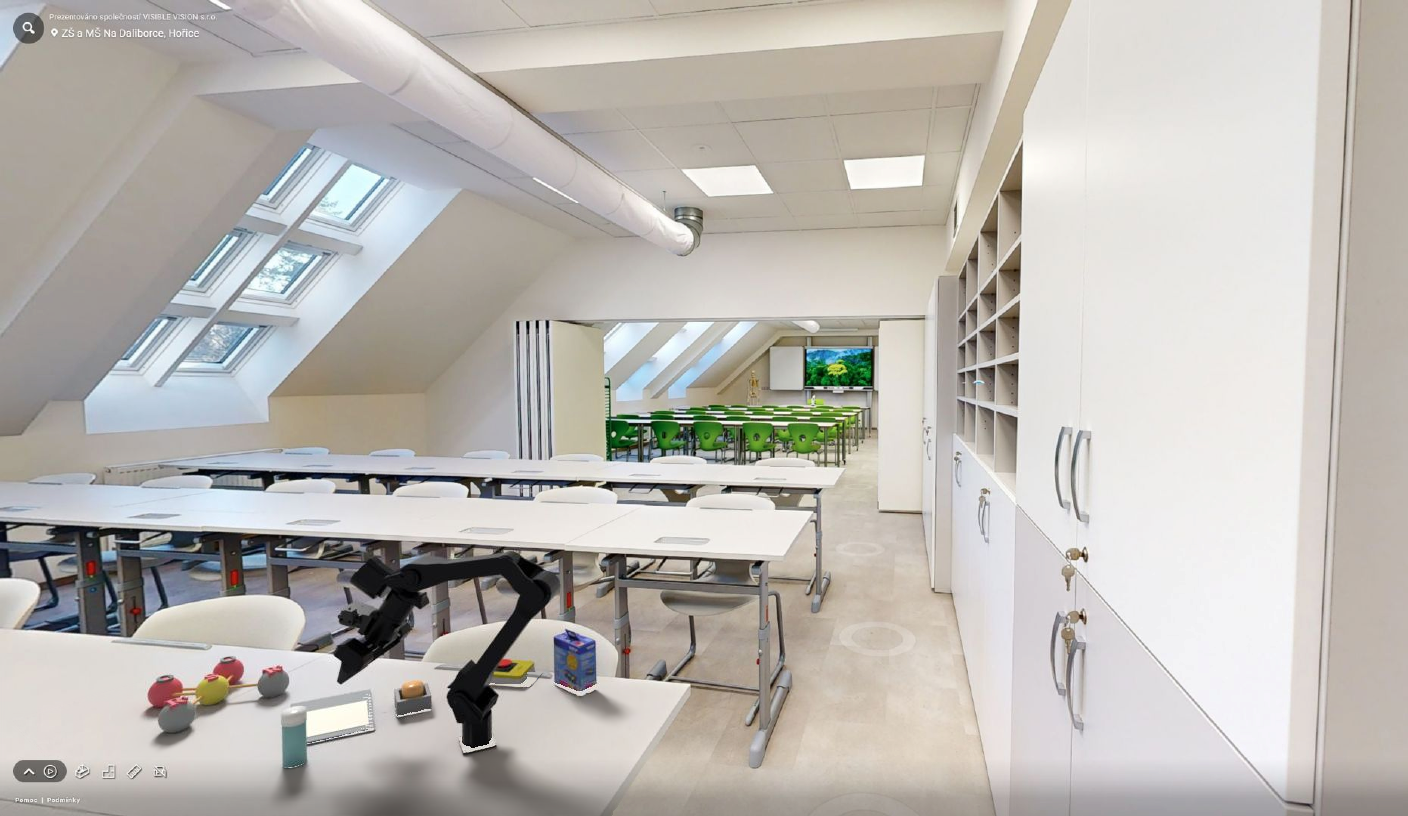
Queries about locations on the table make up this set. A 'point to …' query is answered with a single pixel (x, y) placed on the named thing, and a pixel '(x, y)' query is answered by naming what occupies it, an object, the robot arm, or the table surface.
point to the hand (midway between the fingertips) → (353, 672)
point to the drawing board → (337, 715)
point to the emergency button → (512, 671)
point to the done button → (412, 689)
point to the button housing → (412, 701)
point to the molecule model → (208, 691)
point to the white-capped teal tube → (294, 736)
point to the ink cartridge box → (574, 661)
